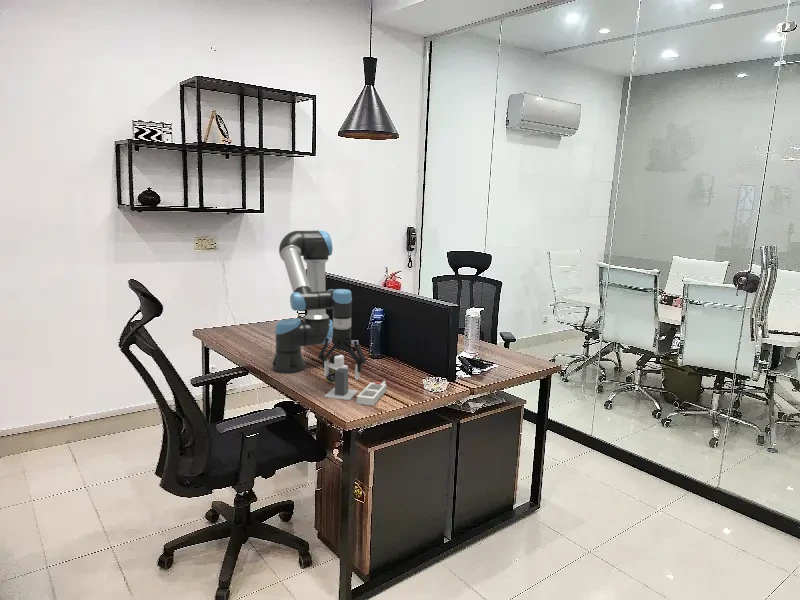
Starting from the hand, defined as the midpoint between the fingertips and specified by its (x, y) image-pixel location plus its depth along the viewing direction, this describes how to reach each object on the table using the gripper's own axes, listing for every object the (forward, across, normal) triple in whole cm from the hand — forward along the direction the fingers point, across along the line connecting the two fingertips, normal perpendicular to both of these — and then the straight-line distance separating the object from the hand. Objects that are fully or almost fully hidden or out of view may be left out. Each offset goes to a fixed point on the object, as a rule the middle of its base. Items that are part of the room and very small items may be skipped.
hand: (341, 377), depth 231 cm
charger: (+7, 0, 0) cm, 7 cm away
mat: (+7, 0, 0) cm, 7 cm away
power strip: (+7, +13, +6) cm, 16 cm away
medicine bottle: (+7, -8, +15) cm, 19 cm away
